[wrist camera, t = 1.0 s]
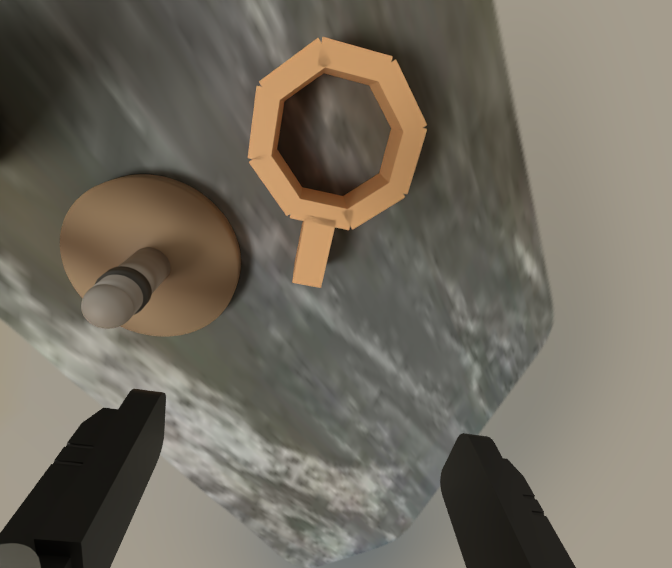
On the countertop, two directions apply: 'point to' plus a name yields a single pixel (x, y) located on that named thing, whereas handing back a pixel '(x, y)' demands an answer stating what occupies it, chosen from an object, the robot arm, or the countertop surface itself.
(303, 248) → the ring
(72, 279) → the round wooden base
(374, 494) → the countertop surface
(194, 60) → the countertop surface
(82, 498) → the robot arm
